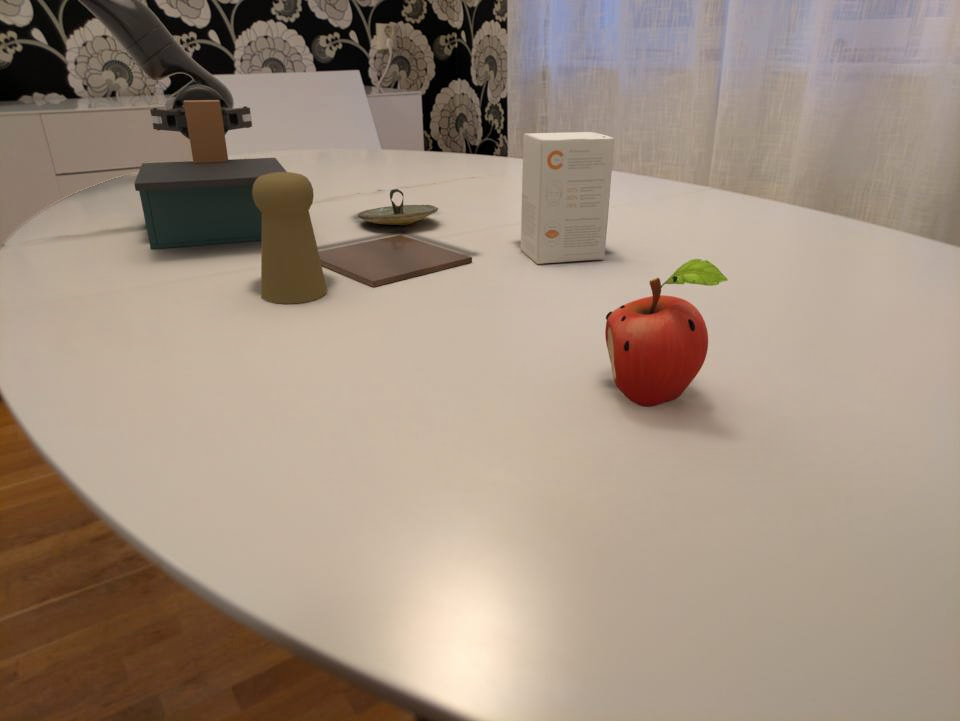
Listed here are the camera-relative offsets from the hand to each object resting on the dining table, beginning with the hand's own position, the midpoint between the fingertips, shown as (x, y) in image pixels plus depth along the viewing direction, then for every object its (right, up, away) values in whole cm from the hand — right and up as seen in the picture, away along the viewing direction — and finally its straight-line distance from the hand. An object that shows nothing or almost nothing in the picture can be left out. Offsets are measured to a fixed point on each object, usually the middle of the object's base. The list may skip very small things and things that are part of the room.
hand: (204, 124), depth 82 cm
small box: (+43, -17, -5) cm, 46 cm away
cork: (+16, -23, -18) cm, 33 cm away
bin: (+1, -12, +4) cm, 13 cm away
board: (+23, -18, -8) cm, 31 cm away
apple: (+45, -31, -37) cm, 66 cm away
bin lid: (+3, -7, -4) cm, 9 cm away
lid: (+23, -11, +7) cm, 26 cm away
